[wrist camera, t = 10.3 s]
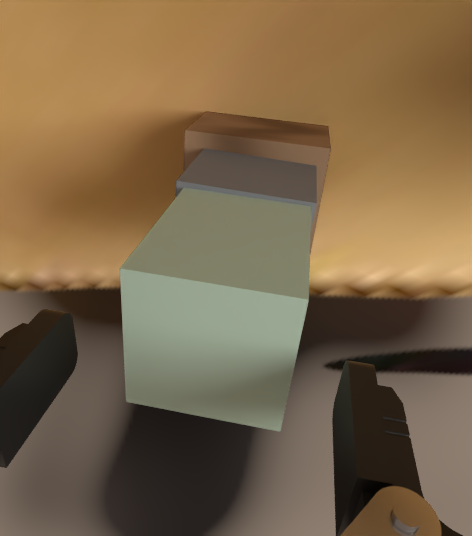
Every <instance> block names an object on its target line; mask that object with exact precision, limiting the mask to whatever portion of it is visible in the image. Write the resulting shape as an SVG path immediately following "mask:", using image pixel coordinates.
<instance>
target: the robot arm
mask: <svg viewBox="0 0 472 536" xmlns="http://www.w3.org/2000/svg"><path fill="white" fill-rule="evenodd" d="M77 356H78V352H77V345H76V338H75V331H74V324H73V318H72V316H71V314H70V313H65V312H59V311H53V310H47V309H44V310H42V311H41V312H39V313H38V314H37V315H36V316H35V317H34V319H32V321H31V322H30V323H29V324H25V323H22V324H21V325H19V326H17V327H15V328H13V329H12V330H10V331H8V332H6V333H5V334H4V335H3V336H2V337H1V338H0V467H5V468H7V466H8V465H9V464H10V462H11V461H12V459H13V458H14V456H15V455H16V454H17V452H18V451H19V449H20V448H21V446H22V445H23V443H24V442H25V441H26V439H27V438H28V436H29V435H30V433H31V432H32V431H33V429H34V428H35V426H36V425H37V423H38V422H39V420H40V419H41V418H42V416H43V415H44V413H45V412H46V410H47V409H48V408H49V406H50V405H51V403H52V402H53V400H54V399H55V398H56V396H57V394H58V393H59V392H60V390H61V389H62V387H63V386H64V385H65V383H66V382H67V380H68V379H69V377H70V376H71V374H72V373H73V371H74V369H75V366H76V363H77ZM333 453H334V454H333V455H334V486H335V487H334V488H335V519H336V536H463V535H460V534H459V533H457V532H455V531H453V530H452V529H450V528H449V527H447V526H446V525H445V524H444V523H442V522H441V521H440V520H439V518H438V516H437V514H436V512H435V511H434V509H433V508H432V507H431V505H430V504H429V503H428V502H427V501H426V500H425V499H424V497H423V494H422V491H421V486H420V481H419V476H418V472H417V467H416V462H415V458H414V453H413V449H412V444H411V439H410V438H409V430H408V425H407V424H406V416H405V412H404V407H403V403H402V402H401V400H400V399H399V397H398V396H397V394H396V393H395V391H394V390H393V389H392V388H391V387H386V386H380V385H378V384H377V378H376V371H375V367H374V365H370V364H364V363H359V362H353V361H346V362H345V364H344V367H343V371H342V375H341V379H340V383H339V387H338V390H337V394H336V397H335V402H334V408H333Z"/></svg>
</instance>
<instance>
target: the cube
mask: <svg viewBox="0 0 472 536" xmlns="http://www.w3.org/2000/svg"><path fill="white" fill-rule="evenodd" d="M183 188H190V189H197V190H204V191H211V192H218V193H224V194H231V195H238V196H245V197H252V198H258V199H265V200H272V201H279V202H286V203H292V204H299V205H306V206H311V228H312V223H313V219H314V214H315V210H316V205H317V166H316V165H309V164H303V163H296V162H290V161H283V160H277V159H270V158H264V157H257V156H251V155H244V154H238V153H231V152H225V151H218V150H212V149H206V148H204V149H203V150H202V151H201V153H200V154H199V155H198V156H197V157H196V158H195V160H194V161H193V162H192V163H191V164H190V165H189V167H188V168H187V169H186V170H185V171H184V172H183V174H182V175H181V176H180V177H179V178H178V179H177V181H176V197H177V196H178V194H179V193H180V192H181V191H182V189H183Z"/></svg>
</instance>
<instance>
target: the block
mask: <svg viewBox="0 0 472 536" xmlns="http://www.w3.org/2000/svg"><path fill="white" fill-rule="evenodd" d="M310 232H311V206H306V205H299V204H292V203H286V202H279V201H272V200H265V199H258V198H252V197H245V196H238V195H231V194H224V193H218V192H211V191H204V190H197V189H190V188H183V189H182V191H181V192H180V193H179V194H178V196H177V197H176V198H175V199H174V201H173V202H172V203H171V204H170V206H169V207H168V208H167V210H166V211H165V212H164V213H163V215H162V216H161V217H160V218H159V220H158V221H157V222H156V223H155V225H154V226H153V227H152V228H151V230H150V231H149V232H148V234H147V235H146V236H145V237H144V239H143V240H142V241H141V242H140V244H139V245H138V246H137V247H136V249H135V250H134V251H133V252H132V254H131V255H130V256H129V258H128V259H127V260H126V261H125V263H124V264H123V265H122V266H121V268H120V280H121V301H122V322H123V344H124V365H125V386H126V401H127V402H131V403H136V404H141V405H146V406H152V407H157V408H162V409H167V410H173V411H177V412H182V413H187V414H192V415H198V416H203V417H208V418H213V419H218V420H224V421H228V422H234V423H239V424H244V425H249V426H254V427H259V428H264V429H270V430H274V431H280V430H281V426H282V421H283V416H284V412H285V407H286V402H287V398H288V393H289V388H290V384H291V379H292V375H293V370H294V365H295V361H296V356H297V351H298V347H299V342H300V337H301V333H302V328H303V323H304V319H305V314H306V309H307V305H308V300H309V267H310Z"/></svg>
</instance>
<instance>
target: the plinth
mask: <svg viewBox="0 0 472 536" xmlns="http://www.w3.org/2000/svg"><path fill="white" fill-rule="evenodd" d="M204 148H206V149H212V150H218V151H225V152H231V153H238V154H244V155H251V156H257V157H264V158H270V159H277V160H283V161H290V162H296V163H303V164H309V165H316V166H317V205H316V210H315V214H314V219H313V223H312V228H311V232H310V253H311V248H312V242H313V237H314V232H315V227H316V222H317V217H318V212H319V207H320V202H321V197H322V192H323V186H324V181H325V176H326V171H327V166H328V161H329V156H330V151H331V145H330V137H329V129H328V126H321V125H313V124H305V123H297V122H289V121H280V120H272V119H264V118H256V117H248V116H239V115H231V114H223V113H215V112H205V113H204V114H203V115H202V116H201V117H200V118H198V119H197V120H196V121H195V122H194V123H193V124H191V125H190V126H189V127H188V128H187V129H186V130H185V148H184V171H185V170H186V169H187V168H188V167H189V165H190V164H191V163H192V162H193V161H194V160H195V158H196V157H197V156H198V155H199V154H200V153H201V151H202V150H203V149H204Z"/></svg>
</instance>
